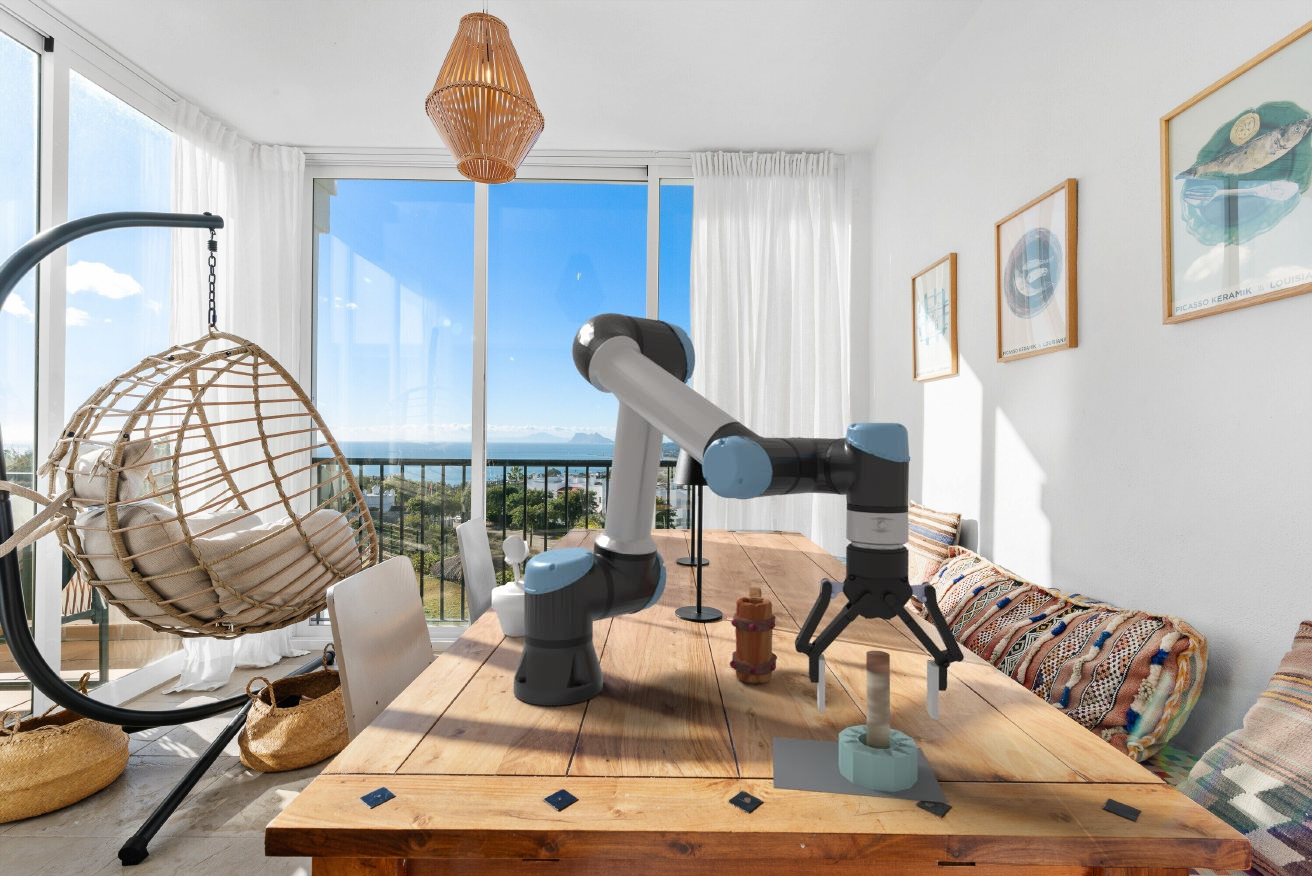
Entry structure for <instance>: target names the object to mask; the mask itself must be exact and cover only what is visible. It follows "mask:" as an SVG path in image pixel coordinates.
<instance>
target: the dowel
mask: <svg viewBox="0 0 1312 876" xmlns="http://www.w3.org/2000/svg"><path fill="white" fill-rule="evenodd" d="M865 654H866V655H865V658H866V673H865V674H866V676H865V677H866V679H865V680H866V725H867V746H868V747H872V748H875V749H889V748H890V729H891V694H890V691H891V683H890V682H891V672H890V671H891V668H890V666H891V664H890V662H891V661H890V659H891V658H890V657H891V654H890V653H888V652H886V651H882V650H868V651H866V653H865Z"/></svg>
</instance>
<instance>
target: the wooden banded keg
mask: <svg viewBox="0 0 1312 876" xmlns="http://www.w3.org/2000/svg"><path fill="white" fill-rule="evenodd" d="M762 595H763V594H762V589H761V587H757V586H751V587H749V591H748V597H746V596H745V597H744V596H743V597H740V598H739V599H737V600H736V602H735V603H736V606H735V607H736V608H735V609H736V611H735V613H734V615H733V619H732V620H731V625H732V627H734V628H735V651H733V652H732V658H731V661H730V662H729V667H730V668H732V669H733V670H735V676H736V679H738V680H739V681H740V682H743V683H746V684H756V685H757V684H763V683H767V682H769V681H770V680H771V679H772V676H773V672H774V671H775V670H776V669H777V661H778V655H776V654H775V653H774V652H773V629H774V628H775V627H776V618H777V617H776V615H774V614H773V603H772V601H771V599H768V598H767V599H766V598H764V597H762Z"/></svg>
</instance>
